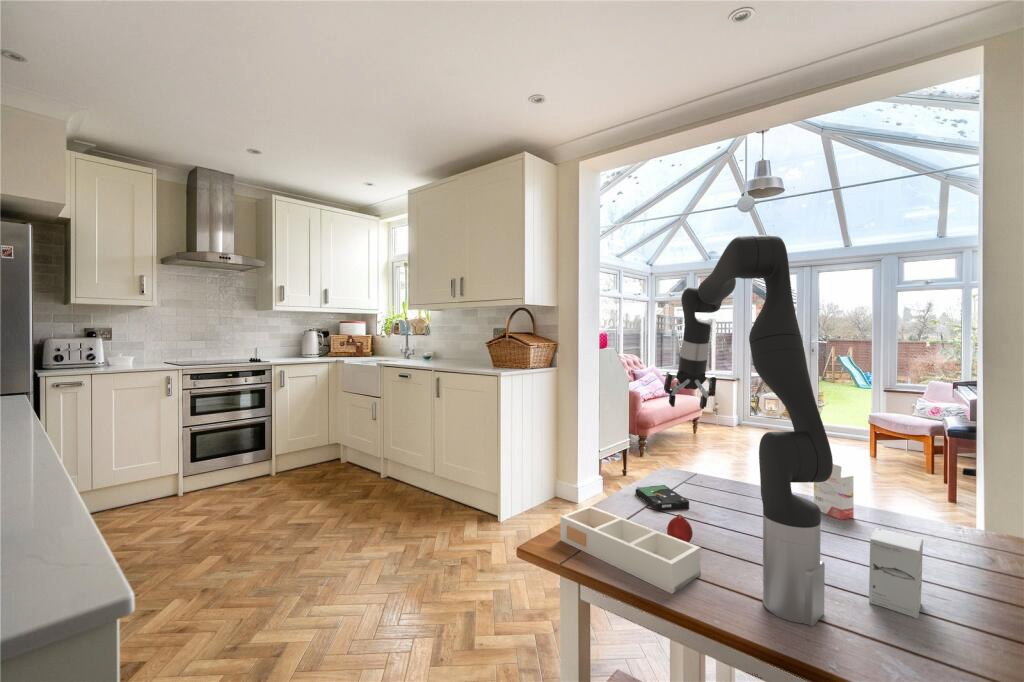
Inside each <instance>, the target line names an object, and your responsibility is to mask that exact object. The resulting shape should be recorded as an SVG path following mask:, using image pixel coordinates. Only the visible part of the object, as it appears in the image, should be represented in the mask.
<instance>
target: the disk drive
mask: <svg viewBox="0 0 1024 682" xmlns="http://www.w3.org/2000/svg"><path fill="white" fill-rule="evenodd" d="M636 494H637V495H636ZM635 495H636V496H638V497H639V496H640V497H641V498H642V499H641V498H640V497H639V498H640V499H641V500H643V499H644V500H645V501H646V502H647V504H648V505H649V504H650V505H649V506H650V507H652V508H653V509H654V510H655V511H657V512H665V511H666V512H667V511H678V510H688V509H690V500H688V499H687V498H685V497H684V496H682V495H680V494H679V493H677V492H676V491H674V490H673V489H671V488H670V487H668V486H666V485H665V484H660V485H649V486H644V487H643V486H642V487H639V486H637V487H636V488H635ZM644 500H643V501H644ZM645 501H644V502H645ZM646 502H645V503H646Z"/></svg>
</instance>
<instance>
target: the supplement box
mask: <svg viewBox="0 0 1024 682" xmlns="http://www.w3.org/2000/svg"><path fill="white" fill-rule="evenodd" d="M869 541H870V542H869V572H868V573H869V577H868V578H869V580H868V581H869V582H868V583H869V584H868V604H871V605H877V606H880V607H882V608H885V609H889V610H892V611H894V612H897V613H900V614H904V615H907V616H909V617H911V618H915V619H919V615H920V609H921V605H922V604H921V603H922V589H923V588H922V585H923V548H924V539H923V538H921V537H916V536H912V535H907V534H903V533H899V532H895V531H891V530H887V529H882V528H878V527H874V530H873V532H872V534H871V537H870V539H869Z"/></svg>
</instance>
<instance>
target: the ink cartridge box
mask: <svg viewBox="0 0 1024 682" xmlns="http://www.w3.org/2000/svg"><path fill="white" fill-rule="evenodd" d="M842 469H843V468H842V466H841V465H838V464H834V463H833V469H832V474H831V476H830V478H829V479H828V480H827V481H824V482H813V503H815V504H816V505H817V506H818V507H819V508H820V511H821V513H822V514H826V515H828V516H830V517H833V518H835V519H839V520H848V519H853V518H854V517H855V516H854V504H855V503H854V475H851V474H848V473H844V472H842Z"/></svg>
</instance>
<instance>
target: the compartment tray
mask: <svg viewBox="0 0 1024 682" xmlns="http://www.w3.org/2000/svg"><path fill="white" fill-rule="evenodd" d="M559 521H560V524H559V525H560V541H561V542H563V543H565V544H567V545H570V546H572V547H573V548H575V549H578V550H580V551H582V552H584V553H586V554H589V555H590V556H593V557H595V558H597V559H599V560H601V561H603V562H605V563H606V564H609V565H611V566H613V567H615V568H617V569H619V570H621V571H623V572H625V573H627V574H630V575H632V576H634V577H636V578H638V579H641V580H642V581H644V582H646V583H649V584H651V585H653V586H655V587H656V588H658V589H661V590H663V591H665V592H667V593H668V594H671V595H673V594H674V593H676V592H677V591H679V590H681V589H682V588H683V587H684V586H686V585H688V584H690V583H691V582H692V581H694V580H695V579H697V578H698V577H700V576H701V574H702V571H701V567H702V566H701V563H702V558H701V553H702V552H701V551H702V550H701V549H702V547H701V546H698V545H696V544H694V543H693V544H692V543H691V542H689V543H688V542H685V541H683V540H680V539H677V538H675V537H672V536H669V535H668V534H666V533H663V532H661V531H658V530H656V529H653V528H650V527H647V526H645V525H642V524H640V523H637V522H634V521H632V520H630V519H626V518H624V517H621V516H619V515H615V514H613V513H611V512H608V511H606V510H603V509H600V508H598V507H595V506H592V505H588V506H585V507H582V508H579V509H577V510H575V511H571V512H570V513H566V514H563V515H561V516H560V520H559Z"/></svg>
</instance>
